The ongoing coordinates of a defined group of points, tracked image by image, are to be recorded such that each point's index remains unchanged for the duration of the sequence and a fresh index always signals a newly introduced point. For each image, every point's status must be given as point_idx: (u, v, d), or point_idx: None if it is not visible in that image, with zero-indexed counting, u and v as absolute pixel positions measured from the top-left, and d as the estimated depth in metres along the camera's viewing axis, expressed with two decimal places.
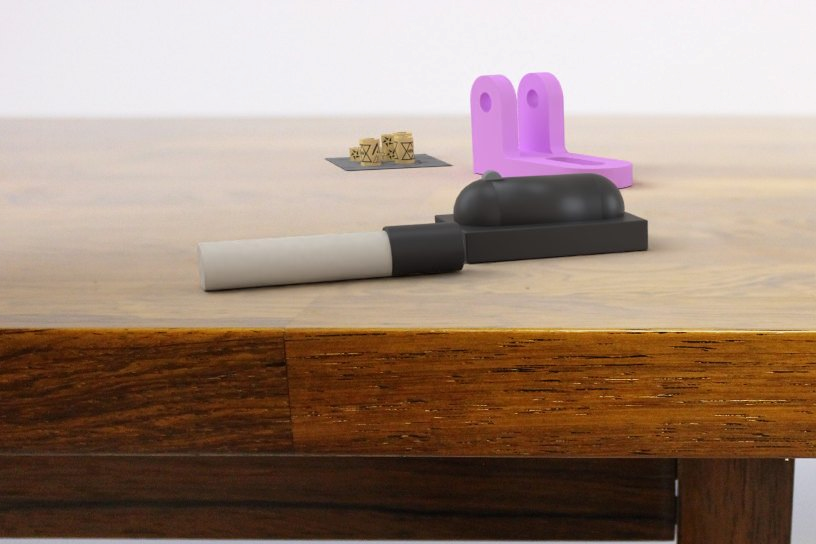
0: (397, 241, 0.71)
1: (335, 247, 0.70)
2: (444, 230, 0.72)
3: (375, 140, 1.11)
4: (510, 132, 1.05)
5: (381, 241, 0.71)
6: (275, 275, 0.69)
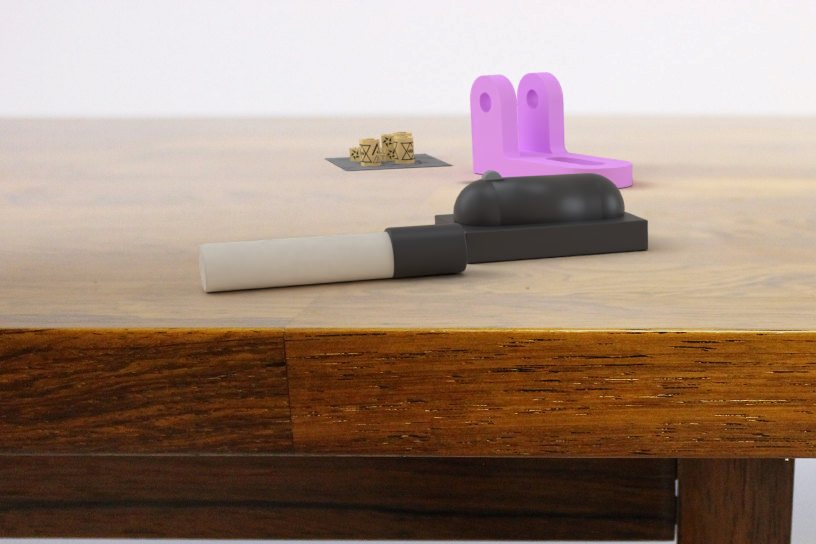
0: (400, 250, 0.71)
1: (338, 256, 0.69)
2: (448, 239, 0.72)
3: (375, 140, 1.11)
4: (510, 132, 1.05)
5: (384, 250, 0.70)
6: (276, 282, 0.69)
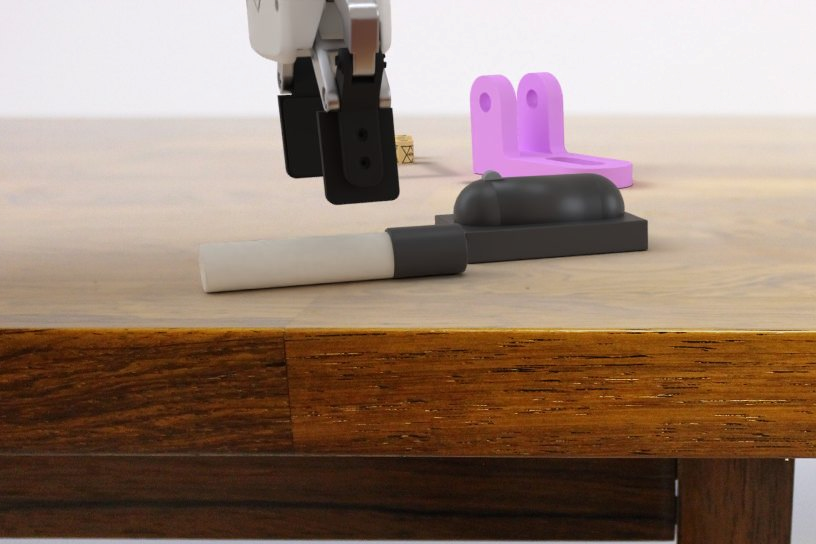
0: (401, 252, 0.71)
1: (338, 258, 0.69)
2: (449, 240, 0.71)
3: None
4: (510, 132, 1.05)
5: (385, 251, 0.70)
6: (276, 283, 0.69)
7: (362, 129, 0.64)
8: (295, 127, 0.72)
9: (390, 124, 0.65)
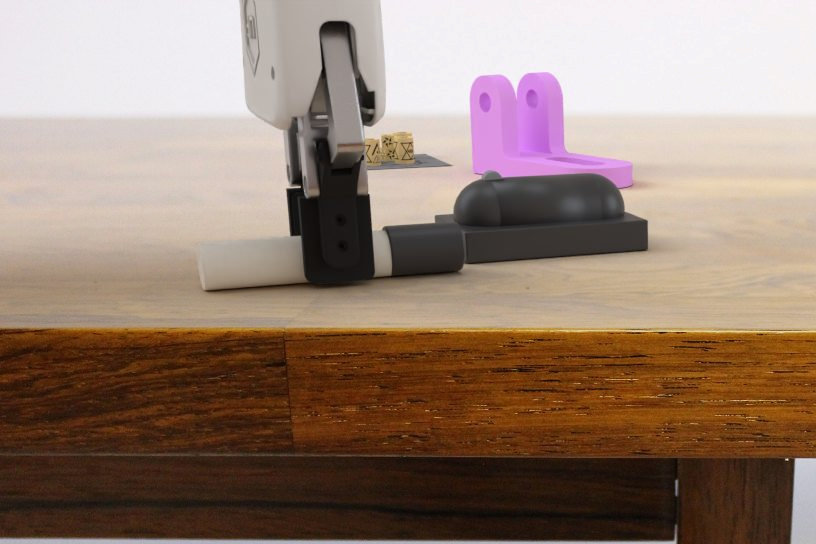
0: (397, 241, 0.71)
1: None
2: (444, 230, 0.72)
3: (375, 140, 1.11)
4: (510, 132, 1.05)
5: (381, 241, 0.71)
6: (274, 275, 0.69)
7: (340, 215, 0.68)
8: None
9: (367, 210, 0.69)
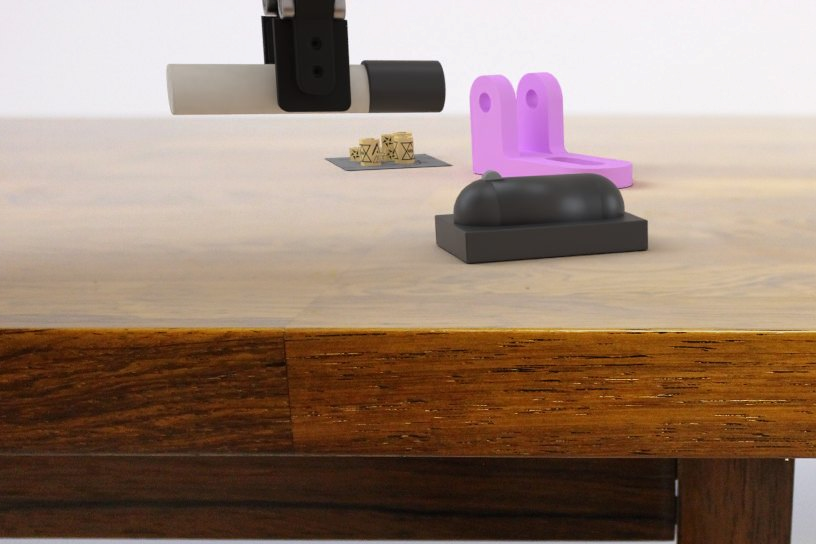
0: (375, 75, 0.69)
1: None
2: (424, 67, 0.70)
3: (375, 140, 1.11)
4: (510, 132, 1.05)
5: (359, 74, 0.68)
6: (246, 101, 0.66)
7: (316, 38, 0.66)
8: None
9: (344, 36, 0.67)
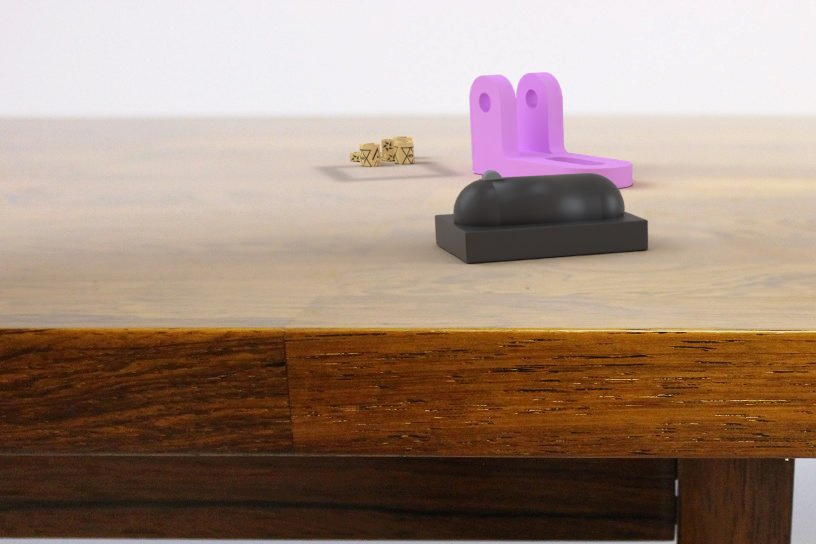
0: None
1: None
2: None
3: (375, 145, 1.11)
4: (509, 132, 1.05)
5: None
6: None
7: None
8: None
9: None
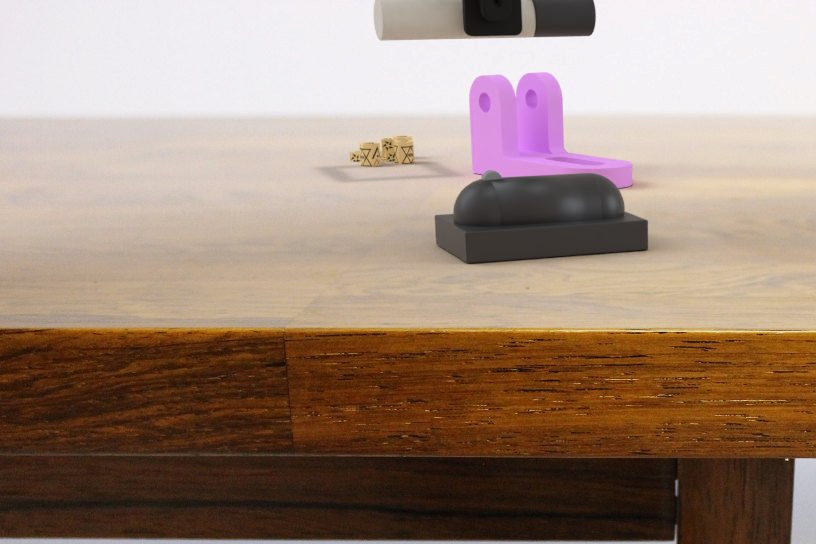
0: (539, 5, 0.83)
1: None
2: None
3: (375, 144, 1.11)
4: (509, 132, 1.05)
5: (526, 4, 0.83)
6: (439, 28, 0.81)
7: None
8: None
9: None
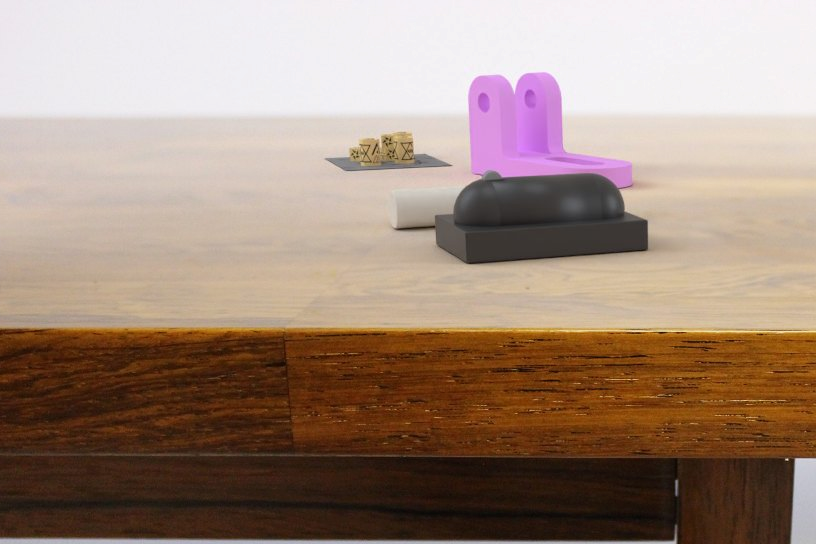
0: None
1: None
2: None
3: (375, 140, 1.11)
4: (509, 132, 1.05)
5: None
6: (450, 208, 0.85)
7: None
8: None
9: None
